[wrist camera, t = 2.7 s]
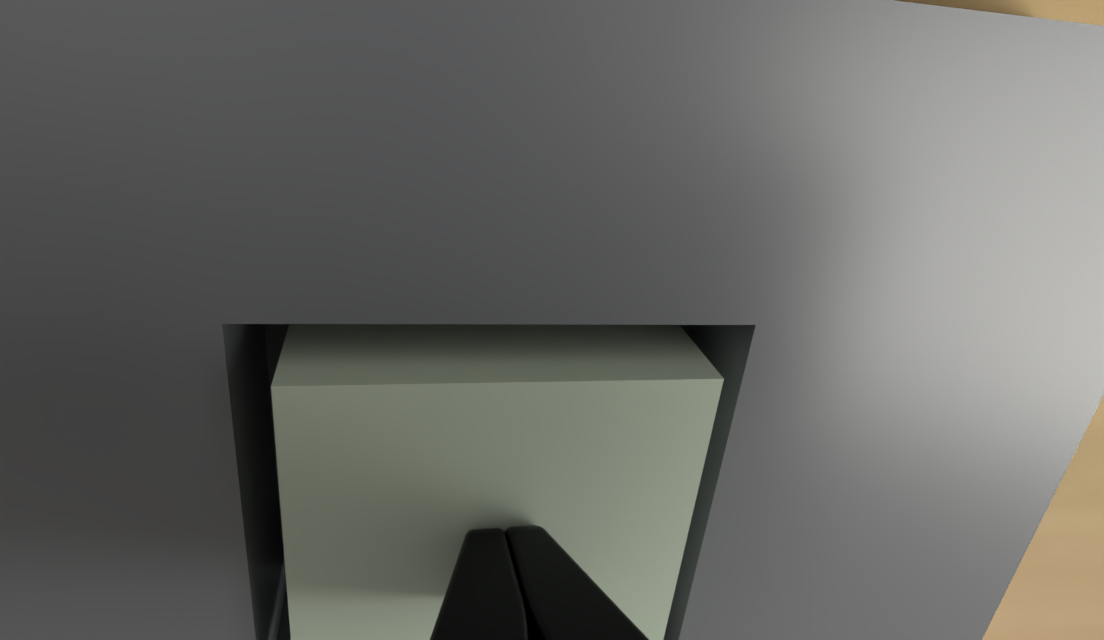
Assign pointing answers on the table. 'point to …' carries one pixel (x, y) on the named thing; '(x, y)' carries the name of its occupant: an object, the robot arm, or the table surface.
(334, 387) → the sage key
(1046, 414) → the keypad
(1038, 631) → the table surface
